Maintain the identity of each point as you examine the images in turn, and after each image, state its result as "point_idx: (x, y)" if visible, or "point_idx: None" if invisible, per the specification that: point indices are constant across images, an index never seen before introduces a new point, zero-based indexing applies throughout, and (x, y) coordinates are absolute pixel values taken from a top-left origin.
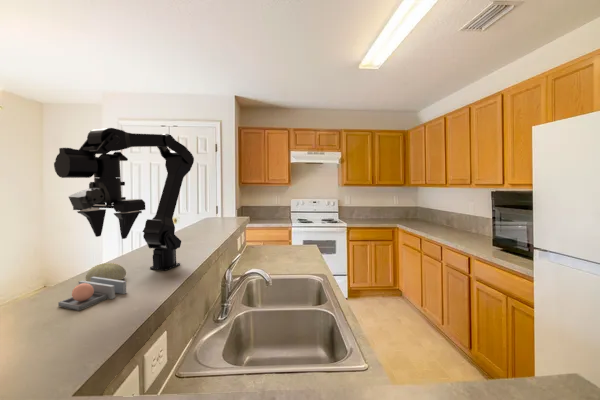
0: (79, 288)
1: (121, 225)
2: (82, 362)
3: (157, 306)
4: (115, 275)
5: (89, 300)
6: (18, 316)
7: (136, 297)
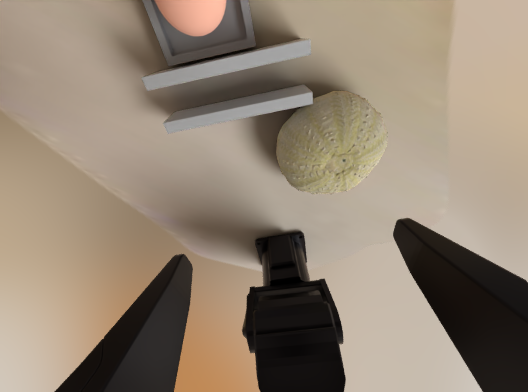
0: None
1: (105, 351)
2: None
3: (6, 110)
4: (278, 153)
5: None
6: None
7: (120, 117)
